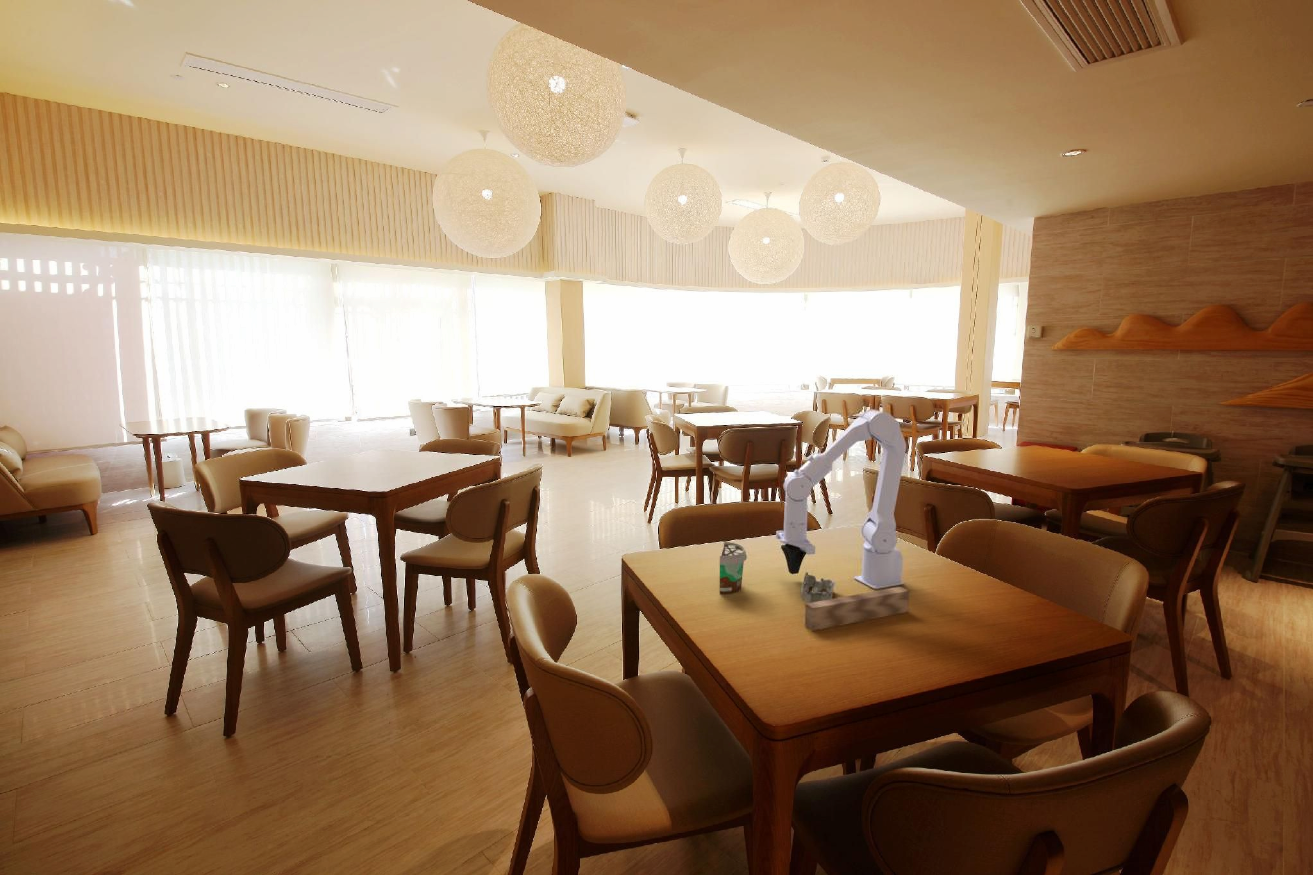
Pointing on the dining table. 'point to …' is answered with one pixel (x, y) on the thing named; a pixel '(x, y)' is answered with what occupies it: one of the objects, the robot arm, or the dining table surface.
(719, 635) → the dining table surface
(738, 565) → the food container
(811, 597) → the egg carton
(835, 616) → the walnut board
